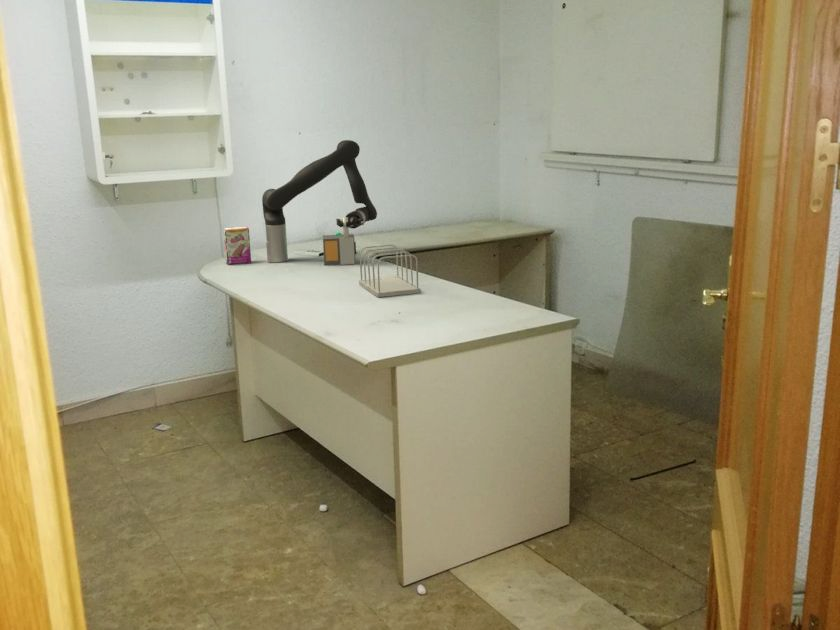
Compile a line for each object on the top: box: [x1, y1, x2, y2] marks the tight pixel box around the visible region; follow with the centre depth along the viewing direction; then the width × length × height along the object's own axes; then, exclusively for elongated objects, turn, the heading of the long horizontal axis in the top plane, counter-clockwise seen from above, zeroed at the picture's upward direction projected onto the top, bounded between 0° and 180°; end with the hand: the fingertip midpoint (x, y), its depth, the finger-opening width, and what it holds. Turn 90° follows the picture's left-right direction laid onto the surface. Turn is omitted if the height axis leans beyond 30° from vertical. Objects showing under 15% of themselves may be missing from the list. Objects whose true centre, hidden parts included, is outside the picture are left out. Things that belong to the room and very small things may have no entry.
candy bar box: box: [222, 226, 252, 266], centre depth 378 cm, size 11×5×16 cm, turn 113°
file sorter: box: [358, 244, 422, 298], centre depth 320 cm, size 25×17×16 cm
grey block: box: [322, 233, 357, 266], centre depth 374 cm, size 15×10×12 cm
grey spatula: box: [339, 216, 356, 265], centre depth 368 cm, size 6×2×21 cm, turn 97°
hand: (343, 224), depth 363 cm, fingers closed on grey spatula, 2 cm apart
